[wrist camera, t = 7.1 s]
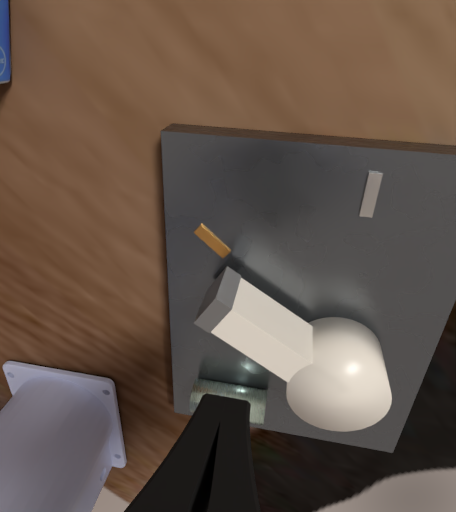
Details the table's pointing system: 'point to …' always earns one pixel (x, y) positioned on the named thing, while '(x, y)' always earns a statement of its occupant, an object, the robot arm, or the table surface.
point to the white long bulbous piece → (303, 354)
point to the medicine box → (4, 43)
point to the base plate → (308, 256)
